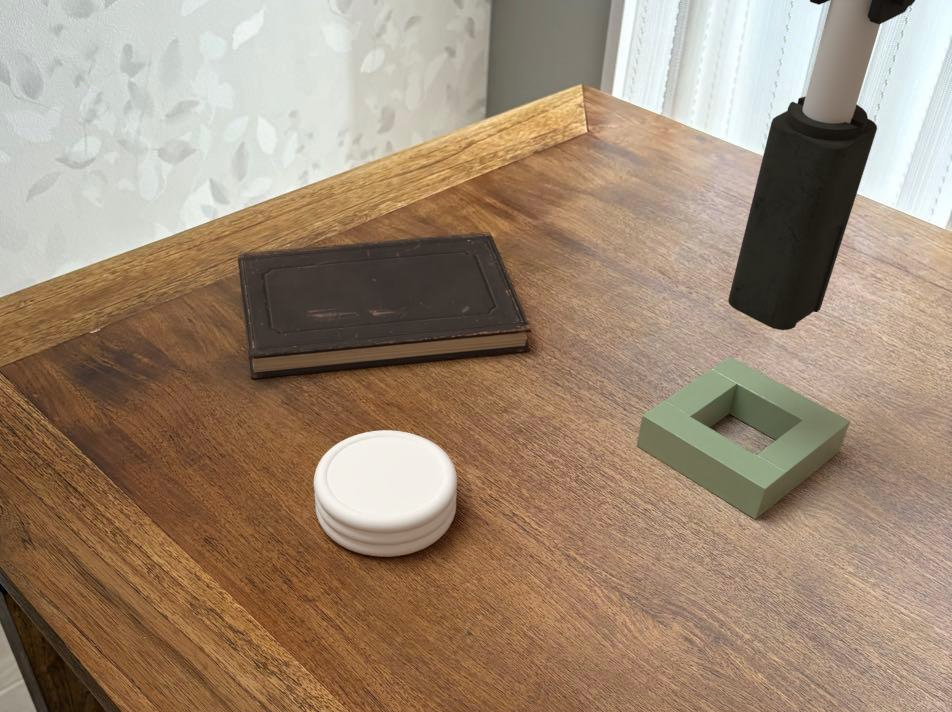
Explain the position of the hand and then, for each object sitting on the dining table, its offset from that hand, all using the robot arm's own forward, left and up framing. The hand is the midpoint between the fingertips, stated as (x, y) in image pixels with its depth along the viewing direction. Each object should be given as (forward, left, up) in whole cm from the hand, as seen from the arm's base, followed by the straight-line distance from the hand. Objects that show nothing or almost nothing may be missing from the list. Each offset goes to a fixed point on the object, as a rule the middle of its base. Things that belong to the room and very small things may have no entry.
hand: (858, 3), depth 62 cm
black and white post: (0, 0, -20) cm, 20 cm away
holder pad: (+1, +1, -32) cm, 32 cm away
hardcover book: (+9, -31, -32) cm, 46 cm away
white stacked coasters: (+25, -12, -32) cm, 42 cm away
